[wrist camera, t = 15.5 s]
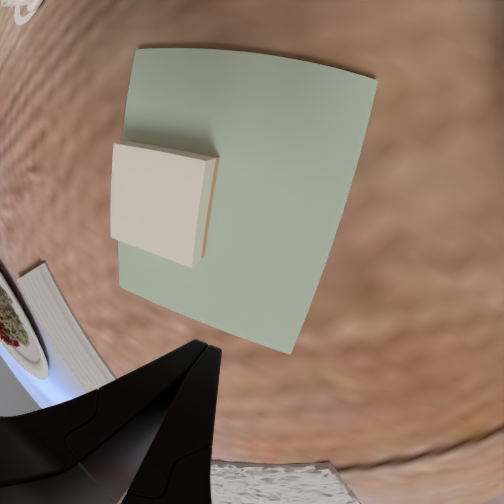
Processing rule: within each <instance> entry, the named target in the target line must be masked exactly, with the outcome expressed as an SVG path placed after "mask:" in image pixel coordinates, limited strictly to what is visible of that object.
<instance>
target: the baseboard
mask: <svg viewBox="0 0 504 504" xmlns="http://www.w3.org/2000/svg"><path fill="white" fill-rule="evenodd" d="M17 282H18V284H19V286H20V288H21V290H22V292H23V294H24V296H25V298H26V299H27V301H28V303H29V305H30V307H31V309H32V310H33V312H34V314H35V316H36V317H37V319H38V321H39V322H40V324H41V326H42V327H43V329H44V331H45V332H46V334H47V336H48V337H49V339H50V340H51V342H52V343H53V345H54V346H55V348H56V349H57V351H58V352H59V354H60V355H61V357H62V358H63V360H64V361H65V363H66V364H67V365H68V367H69V368H70V370H71V371H72V372H73V374H74V375H75V376H76V378H77V379H78V380H79V382H80V383H81V384H82V386H83V387H84V388H85V389H86V391H87V392H90V391H92V390H95V389H98V390H99V387H101V386H103V385H105V384H107V383H109V382H112V381H114V380H116V379H117V378H116V376H115V375H114V374H113V372H112V371H111V370H110V368H109V367H108V365H107V364H106V363H105V361H104V360H103V358H102V357H101V355H100V354H99V353H98V351H97V350H96V348H95V347H94V345H93V344H92V342H91V341H90V339H89V337H88V336H87V334H86V333H85V331H84V330H83V328H82V326H81V325H80V323H79V322H78V320H77V318H76V317H75V315H74V313H73V311H72V310H71V308H70V306H69V305H68V303H67V301H66V299H65V297H64V296H63V294H62V292H61V290H60V288H59V286H58V284H57V283H56V281H55V279H54V277H53V275H52V273H51V271H50V269H49V267H48V265H47V263H46V262H45V263H43V264H41V265H40V266H38V267H36V268H35V269H33V270H32V271H30V272H29V273H27V274H25V275H24V276H22V277H21V278H19V279H18V280H17Z"/></svg>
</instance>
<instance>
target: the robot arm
mask: <svg viewBox="0 0 504 504" xmlns="http://www.w3.org/2000/svg"><path fill="white" fill-rule="evenodd" d="M221 355H222V350H221V349H220V348H218V347H215V346H213V345H208V344H207V343H205V342H203V341H200V340H198V339H194V340H192V341H190V342H188V343H187V344H185V345H183V346H181V347H179V348H177V349H175V350H173V351H171V352H169V353H167V354H166V355H164V356H162V357H160V358H158V359H156V360H154V361H152V362H150V363H148V364H146V365H144V366H142V367H140V368H138V369H136V370H134V371H132V372H130V373H128V374H126V375H124V376H122V377H120V378H118V379H116V380H114V381H112V382H109V383H107V384H105V385H103V386H101V387H99V390H98V389H95V390H92V391H90V392H88V393H86V394H84V395H81V396H79V397H77V398H74V399H72V400H69V401H66V402H63V403H60V404H57V405H54V406H51V407H47V408H44V409H41V410H37V411H34V412H30V413H27V414H23V415H18V416H12V417H0V504H117V503H118V501H119V500H120V498H121V497H122V496H123V494H124V493H125V492H126V490H127V489H128V488H129V489H128V491H127V494H126V495H125V497H124V499H123V501H122V502H121V504H212V498H211V480H210V474H211V456H212V444H213V433H214V423H215V413H216V403H217V393H218V383H219V374H220V365H221ZM129 486H130V487H129Z"/></svg>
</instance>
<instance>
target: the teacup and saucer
mask: <svg viewBox="0 0 504 504" xmlns="http://www.w3.org/2000/svg"><path fill="white" fill-rule="evenodd" d="M42 2H43V0H2V2H1V5H2V6H4V7H6V6H16V8H15V14H14V19H15V23H16V24H17V25H23V24H24V23H26V22H27V21H28V20H29V19H30V18H31V17H32V16H33V15H34V13H35V12H36V10H37V9H38V7H39V6H40V5H41V3H42ZM24 5H27V10H28V11H31V12H30V13H29V14H28V15H26V16H24V17H22V16H21V15H20V11H19V10H20V6H24Z"/></svg>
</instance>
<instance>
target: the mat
mask: <svg viewBox="0 0 504 504" xmlns="http://www.w3.org/2000/svg"><path fill="white" fill-rule="evenodd" d="M377 83H378V80H375V79H372V78H369V77H366V76H362V75H359V74H355V73H352V72H348V71H345V70H341V69H337V68H333V67H329V66H325V65H320V64H316V63H311V62H307V61H302V60H296V59H291V58H285V57H279V56H273V55H266V54H259V53H251V52H242V51H231V50H218V49H199V48H152V49H136V52H135V57H134V62H133V67H132V72H131V78H130V84H129V90H128V97H127V104H126V111H125V119H124V127H123V137H122V142H125V141H131V140H134V141H140V142H146V143H152V144H158V145H163V146H169V147H174V148H179V149H184V150H189V151H194V152H199V153H204V154H208V155H213V156H218V157H220V160H219V165H218V171H217V177H216V183H215V189H214V196H213V202H212V208H211V215H210V222H209V229H208V235H207V243H206V250H205V256H204V257H203V258H202V259H200V260H199V261H198V262H197V263H196V264H195V265H194V266H193V267H192V268H191V267H188V266H185V265H182V264H180V263H177V262H174V261H172V260H169V259H166V258H163V257H161V256H158V255H155V254H153V253H150V252H147V251H145V250H142V249H140V248H137V247H134V246H132V245H129V244H127V243H124V242H121V241H119V240H118V258H119V280H120V287H121V288H123V289H125V290H127V291H130V292H132V293H134V294H136V295H138V296H141V297H143V298H145V299H147V300H149V301H152V302H154V303H156V304H158V305H161V306H163V307H165V308H168V309H170V310H172V311H175V312H177V313H180V314H182V315H184V316H187V317H189V318H192V319H194V320H197V321H199V322H202V323H204V324H207V325H209V326H212V327H214V328H217V329H219V330H222V331H225V332H227V333H230V334H233V335H235V336H238V337H241V338H244V339H246V340H249V341H252V342H255V343H258V344H260V345H263V346H266V347H269V348H272V349H275V350H278V351H281V352H284V353H287V354H290V355H291V352H292V350H293V348H294V345H295V343H296V340H297V338H298V335H299V333H300V330H301V328H302V325H303V323H304V320H305V318H306V315H307V313H308V310H309V307H310V305H311V302H312V300H313V297H314V294H315V292H316V289H317V286H318V283H319V281H320V278H321V275H322V272H323V270H324V267H325V264H326V261H327V258H328V255H329V253H330V250H331V247H332V244H333V241H334V238H335V235H336V232H337V229H338V226H339V223H340V219H341V216H342V213H343V210H344V207H345V204H346V200H347V197H348V194H349V191H350V187H351V184H352V180H353V177H354V174H355V170H356V167H357V163H358V159H359V156H360V152H361V148H362V145H363V141H364V137H365V133H366V129H367V125H368V121H369V117H370V113H371V109H372V105H373V101H374V96H375V92H376V88H377Z"/></svg>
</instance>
